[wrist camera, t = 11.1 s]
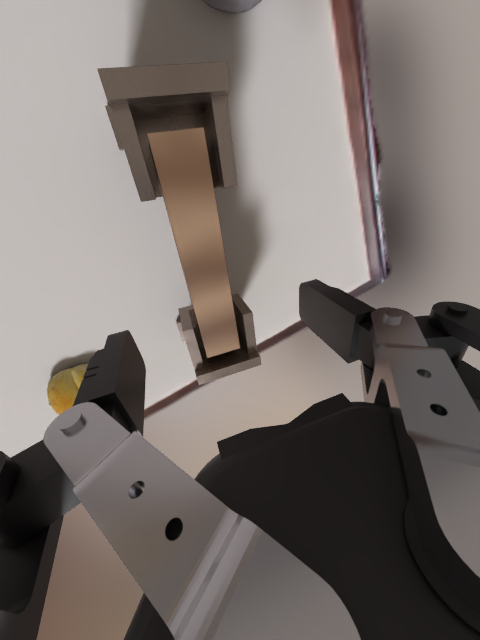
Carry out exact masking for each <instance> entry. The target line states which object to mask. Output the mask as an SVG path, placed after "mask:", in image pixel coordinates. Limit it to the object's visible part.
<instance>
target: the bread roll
mask: <svg viewBox="0 0 480 640" xmlns="http://www.w3.org/2000/svg"><path fill="white" fill-rule="evenodd" d="M87 366H88V363H87V364H81V365H77V366H75V367H73V368H68V369H65V370H63V371H60V372H59V373H57V374H56V375H54V376H53V377H52V378H51V379H50V380H49V383H48V389H47V391H48V401H49V405H50V406H51V407H52V408H53V410H54V411H55V412H56V413H58V414H59V415H60V414H61V413H63V412H64V411H66V410H67V409H69V408H71V407H73V404H74V401H75V398H76V396H77V393H78V390H79V387H80V385H81V382H82V380H83V379H84V378H83V377H84V374H85V371H86V368H87Z"/></svg>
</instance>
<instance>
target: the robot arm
mask: <svg viewBox="0 0 480 640" xmlns="http://www.w3.org/2000/svg"><path fill="white" fill-rule="evenodd" d="M299 314H300V317H301V320H302V321H303V323H304V324H305V325H306V326H307V327H309V328H310V329H311V330H312V331H313V332H314V333H315V334H316V335H317V336H319V337H320V338H321V339H322V340H323V341H324V342H325V343H326V344H327V345H328V346H329V347H331V348H332V349H333V350H334V351H335V352H336V353H337V354H338V355H339V356H341V357H342V358H343V359H344V360H345V361H346V362H347V363H351V362H354V361H356V360H361V361H362V363H361V375H362V385H363V394H364V402H350V401H349V400H348V399H347V398H346V397H345V396H344V394H343V393H341V394H339V395H336V396H333V397H331V398H329V399H326V400H323V401H321V402H318V403H316V404H314V405H312V406H311V407H310V408H308V409H307V410H306V411H304V412H303V413H302V414H300V415H299V416H298V417H297V418H295V419H294V420H292V421H291V422H290V423H288V424H284V425H277V426H269V427H262V428H254V429H249V430H247V431H244V432H241V433H239V434H237V435H234V436H232V437H229V438H227V439H224V440H221V441H219V442H217V444H218V448H219V452H220V453H219V454H218V455H217V456H215V457H214V458H213V459H212V460H211V461H210V462H209V463H208V464H206V466H205V467H204V468H203V469H202V470H201V471H200V473H199V474H198V475H197V477H196V478H195V479H193V478H192V477H191V476H189V475H188V474H187V473H186V472H185V471H183V470H182V469H181V468H180V467H178V466H177V465H176V464H175V463H174V462H172V461H171V460H170V459H169V458H168V457H166V456H165V455H164V454H163V453H161V452H160V451H159V450H158V449H157V448H155V447H154V446H153V445H152V444H151V443H149V442H148V441H147V440H146V439H144V438H143V424H144V400H145V376H146V369H145V364H144V361H143V358H142V356H141V354H140V352H139V350H138V348H137V345H136V343H135V341H134V339H133V337H132V335H131V333H130V332H129V331H128V330H126V331H123V332H119V333H115V334H111V335H109V336H108V337H107V341H106V344H105V347H104V349H102V350H98V351H97V352H96V353H95V355H94V356H93V357H92V358H91V359H90V360H89V363H88V366H87V368H86V371H85V374H84V377H83V378H84V379H83V380H82V382H81V385H80V387H79V390H78V393H77V396H76V398H75V401H74V404H73V407H71V408H69V409H67V410H66V411H64V412H63V413H61V414H60V415H59V416H58V417H57V418H56V419H54V421H53V422H52V423H51V424H50V425H49V427H48V428H47V430H46V432H45V434H44V438H43V440H42V441H40V442H38V443H36V444H35V445H33V446H31V447H29V448H27V449H26V450H24V451H22V452H20V453H19V454H17V455H15V456H13V457H11V458H10V457H8V456H7V455H6V454H5V453H3V452H2V451H0V640H36V638H37V634H38V630H39V625H40V621H41V616H42V612H43V607H44V603H45V598H46V594H47V589H48V584H49V580H50V575H51V571H52V566H53V562H54V557H55V553H56V548H57V543H58V539H59V535H60V530H61V526H62V521H63V516H64V514H66V513H67V512H68V511H70V510H71V509H72V508H74V507H75V506H77V505H78V504H79V503H82V505H83V506H84V507H85V509H86V510H87V512H88V513H89V515H90V516H91V517H92V519H93V520H94V522H95V523H96V525H97V526H98V528H99V529H100V530H101V532H102V533H103V535H104V536H105V538H106V539H107V540H108V542H109V543H110V545H111V546H112V547H113V549H114V550H115V552H116V553H117V555H118V556H119V558H120V559H121V560H122V562H123V563H124V565H125V566H126V568H127V569H128V570H129V572H130V573H131V575H132V576H133V578H134V579H135V580H136V581H137V583H138V585H139V586H140V587H141V589H142V590H143V592H144V593H143V596H142V598H141V600H140V603H139V605H138V607H137V610H136V612H135V614H134V617H133V619H132V621H131V624H130V626H129V628H128V631H127V633H126V635H125V638H124V640H480V371H479V370H477V369H476V368H474V367H472V366H471V365H469V364H468V363H466V362H464V361H462V358H463V356H464V354H465V352H466V350H467V348H468V346H471V347H473V348H475V349H477V350H478V351H480V309H477V308H475V307H473V306H470V305H467V304H462V303H458V302H439V303H436V304H434V305H433V307H432V310H431V313H430V315H429V316H418V317H414V316H413V315H411V314H410V313H409V312H407V311H404V310H401V309H397V308H389V307H384V308H378V309H375V308H373V307H370V306H369V305H367V304H366V303H364V302H362V301H360V300H358V299H356V298H354V297H353V296H351V295H349V294H348V295H347V293H346V292H344V291H342V290H340V289H338V288H334V287H330V286H328V285H326V284H324V283H323V282H321V281H319V280H317V279H315V280H311V281H308V282H304V283H301V284H300V287H299Z"/></svg>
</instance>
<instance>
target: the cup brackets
mask: <svg viewBox="0 0 480 640" xmlns="http://www.w3.org/2000/svg"><path fill="white" fill-rule="evenodd" d="M98 73H99V76H100V79H101V82H102V85H103V88H104V91H105V94H106V97H107V100H108V102H109V104H110V106H105V107H106V110H107V113H108V116H109V119H110V122H111V125H112V128H113V131H114V134H115V137H116V140H117V143H118V146H119V149H120V150H125V153H126V156H127V159H128V162H129V165H130V169H131V172H132V175H133V178H134V181H135V184H136V187H137V190H138V194H139V197H140V200H141V202H142V201H149V200H155V199H156V197H162V196H163V195H162V191H161V187H160V184H159V180H158V176H157V172H156V169H155V165H154V161H153V158H152V154H151V150H150V147H149V141H148V135H147V133H156V132H166V131H175V130H184V129H194V128H203V127H204V133H205V139H206V145H207V151H208V157H209V163H210V169H211V175H212V181H213V187H214V188H228V187H234V186H237V180H236V171H235V163H234V155H233V146H232V138H231V130H230V121H229V113H228V104H227V94H228V93H229V92H230V90H231V89H230V80H229V71H228V62H210V63H192V64H174V65H156V66H137V67H119V68H101V69H98ZM231 296H232V302H233V308H234V314H235V320H236V326H237V332H238V338H239V345H240V348H239V349H235V350H232V351H229V352H226V353H222V354H219V355H216V356H212V357H209V358H207V355H206V352H205V348H204V345H203V342H202V338H201V335H200V332H199V328H198V324H197V320H196V317H195V313H194V309H193V306H192V305H191V306H187V307H183V308H179V315H180V320H177V321H176V322H177V326H178V329H179V332H180V335H181V338H182V341H186V344H187V347H188V350H189V353H190V356H191V359H192V363H193V366H194V369H195V373H196V377H197V380H198V383H199V385H201V384H204V383H207V382H210V381H213V380H216V379H219V378H222V377H225V376H228V375H231V374H234V373H237V372H240V371H243V370H246V369H249V368H253V367H256V366H259V365H261V359H260V355H259V353H258V352H257V347H256V339H255V331H254V322H253V314H252V311H251V310H250V309H249V307H248V306H247V305H246V304H245V302H244V301H243V300H242V298H241V297H240V296H239V295H238V293H237V294H234V295H231Z"/></svg>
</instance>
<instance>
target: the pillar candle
mask: <svg viewBox="0 0 480 640" xmlns="http://www.w3.org/2000/svg"><path fill="white" fill-rule="evenodd" d="M203 1H204V2H205V3H207V4H208V5H209V6H211V7H213V8H216V9H219V10H223V11H227V12H233V13H235V12H245V11H248V10H250V9H251V8H253V7H254V6H256V5H257V4H258V3H260V2H261V0H203Z"/></svg>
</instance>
